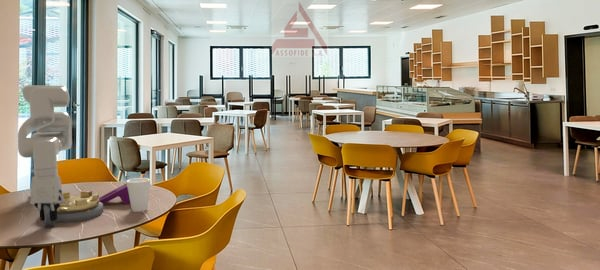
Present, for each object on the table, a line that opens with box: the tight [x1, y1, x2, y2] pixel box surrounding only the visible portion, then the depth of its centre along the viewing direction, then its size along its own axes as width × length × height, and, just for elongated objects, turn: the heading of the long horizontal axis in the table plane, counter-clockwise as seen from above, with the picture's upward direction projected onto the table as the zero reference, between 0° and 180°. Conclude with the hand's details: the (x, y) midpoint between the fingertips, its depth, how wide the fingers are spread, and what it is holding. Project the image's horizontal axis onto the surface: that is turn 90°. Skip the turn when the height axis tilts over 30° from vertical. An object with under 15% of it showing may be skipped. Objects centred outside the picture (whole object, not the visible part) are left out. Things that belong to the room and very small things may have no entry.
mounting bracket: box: [99, 182, 131, 205], centre depth 204 cm, size 9×8×18 cm
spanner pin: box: [43, 203, 55, 229], centre depth 168 cm, size 3×3×10 cm
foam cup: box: [126, 177, 151, 213], centre depth 191 cm, size 10×9×13 cm
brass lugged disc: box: [57, 190, 100, 214], centre depth 184 cm, size 20×20×4 cm
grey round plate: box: [54, 202, 104, 224], centre depth 185 cm, size 23×23×3 cm
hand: (48, 219), depth 168 cm, fingers closed on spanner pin, 3 cm apart
